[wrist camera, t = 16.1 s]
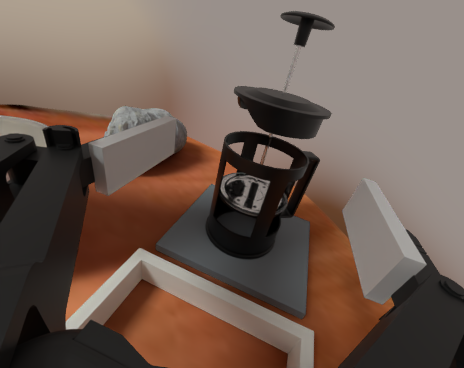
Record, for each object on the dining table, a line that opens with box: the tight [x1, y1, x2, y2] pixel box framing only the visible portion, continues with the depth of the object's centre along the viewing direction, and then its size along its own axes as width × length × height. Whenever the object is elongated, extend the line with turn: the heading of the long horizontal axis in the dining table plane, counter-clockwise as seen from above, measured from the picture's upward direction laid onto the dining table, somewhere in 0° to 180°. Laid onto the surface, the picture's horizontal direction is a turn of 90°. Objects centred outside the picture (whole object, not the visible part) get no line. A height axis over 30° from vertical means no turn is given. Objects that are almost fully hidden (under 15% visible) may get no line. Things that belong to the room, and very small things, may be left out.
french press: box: [206, 11, 335, 260], centre depth 22 cm, size 12×9×23 cm
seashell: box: [104, 106, 187, 153], centre depth 39 cm, size 16×15×10 cm
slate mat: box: [156, 184, 310, 319], centre depth 28 cm, size 15×17×1 cm
